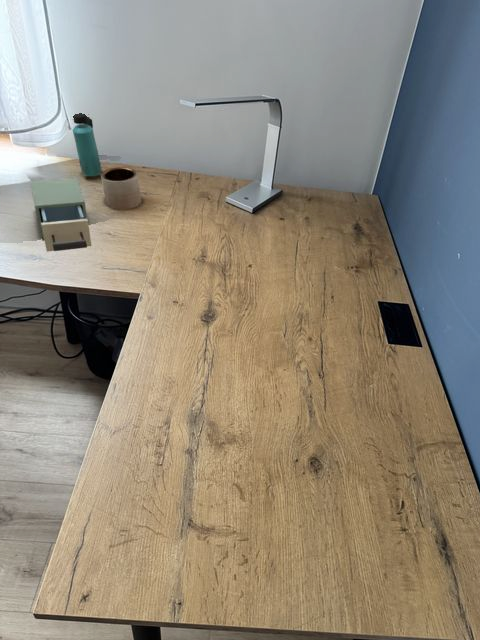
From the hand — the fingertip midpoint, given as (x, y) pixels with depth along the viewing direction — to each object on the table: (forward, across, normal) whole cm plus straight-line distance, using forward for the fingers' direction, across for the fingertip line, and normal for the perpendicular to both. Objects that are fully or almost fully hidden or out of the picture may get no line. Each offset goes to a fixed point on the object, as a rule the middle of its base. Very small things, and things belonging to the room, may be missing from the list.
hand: (72, 127), depth 165 cm
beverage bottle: (+10, 0, -13) cm, 16 cm away
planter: (+31, +2, -13) cm, 34 cm away
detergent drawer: (+44, +28, -12) cm, 54 cm away
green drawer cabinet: (+33, +23, -13) cm, 42 cm away
